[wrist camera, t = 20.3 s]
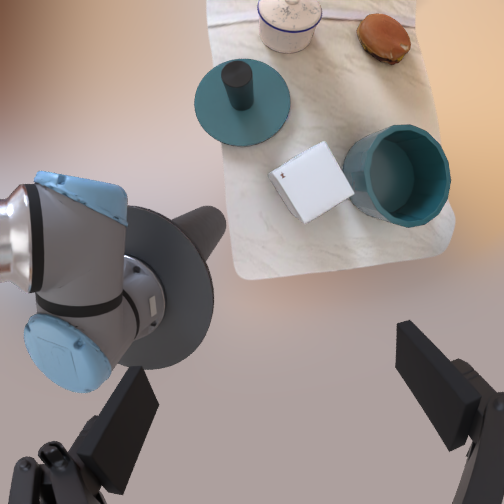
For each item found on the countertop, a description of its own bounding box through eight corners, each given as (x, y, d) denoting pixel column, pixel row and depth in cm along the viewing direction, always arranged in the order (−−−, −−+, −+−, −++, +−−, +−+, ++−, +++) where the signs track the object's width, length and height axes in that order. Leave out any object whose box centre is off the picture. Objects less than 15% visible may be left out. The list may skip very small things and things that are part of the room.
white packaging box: (291, 215, 47) (303, 226, 35) (266, 174, 46) (269, 170, 33) (331, 191, 46) (356, 194, 34) (307, 150, 45) (324, 139, 32)
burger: (361, 12, 38) (369, 0, 34) (406, 35, 39) (417, 26, 34) (348, 51, 40) (356, 40, 36) (397, 75, 41) (409, 67, 37)
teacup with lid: (322, 45, 40) (339, 12, 29) (274, 63, 41) (278, 30, 30) (287, -4, 38) (293, -42, 27) (240, 12, 39) (235, -26, 28)
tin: (349, 223, 47) (372, 234, 37) (335, 139, 44) (355, 128, 34) (420, 211, 46) (454, 219, 36) (408, 132, 43) (441, 123, 33)
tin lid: (204, 155, 45) (184, 145, 32) (189, 72, 42) (167, 38, 29) (298, 138, 44) (313, 121, 31) (278, 55, 41) (285, 15, 28)
